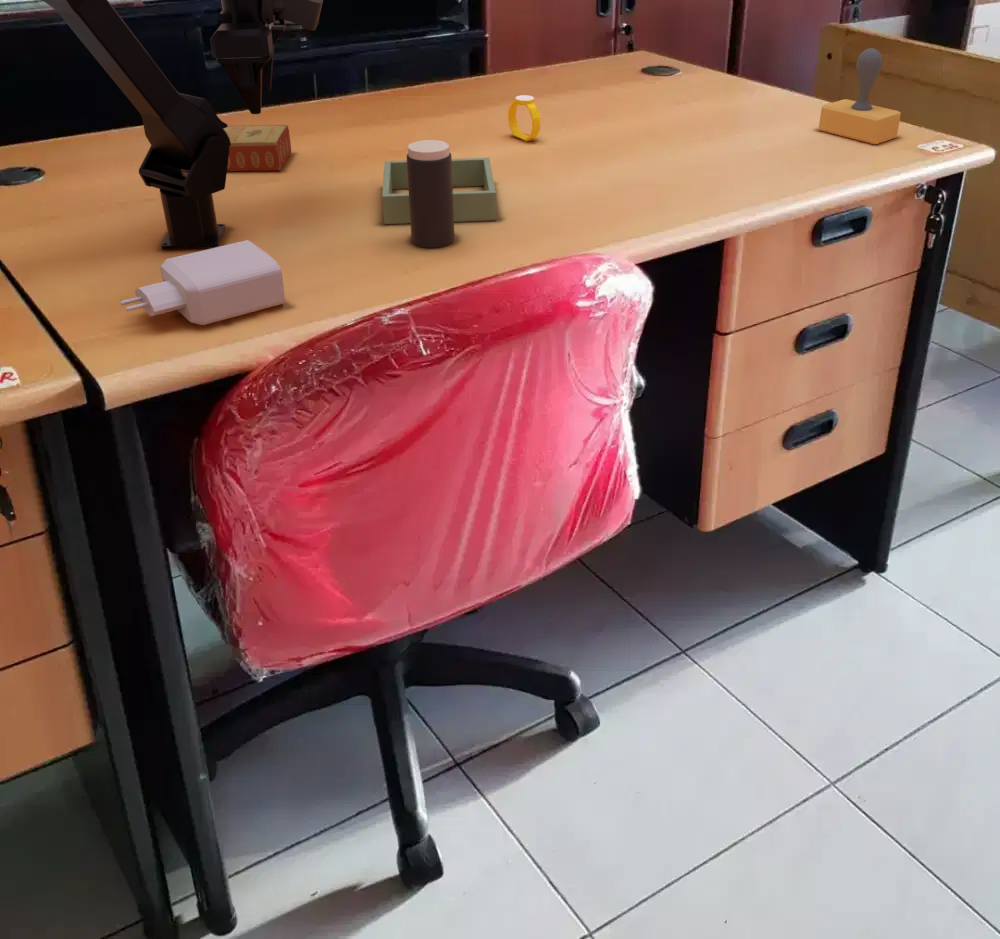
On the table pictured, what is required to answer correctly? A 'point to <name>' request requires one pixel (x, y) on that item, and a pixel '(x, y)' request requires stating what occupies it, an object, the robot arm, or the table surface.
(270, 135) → the carton
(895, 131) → the rubber stamp
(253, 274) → the charger
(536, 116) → the watch
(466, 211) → the box
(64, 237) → the table surface
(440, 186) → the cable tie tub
